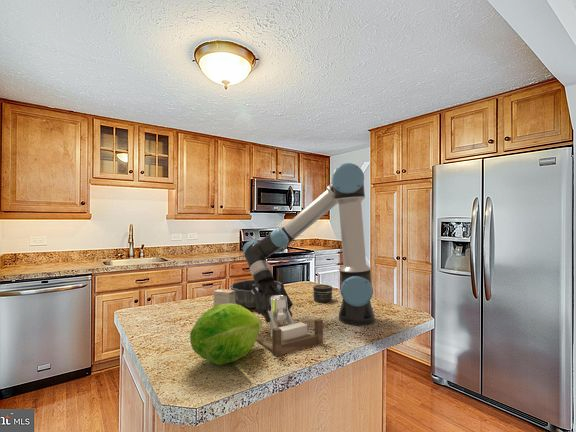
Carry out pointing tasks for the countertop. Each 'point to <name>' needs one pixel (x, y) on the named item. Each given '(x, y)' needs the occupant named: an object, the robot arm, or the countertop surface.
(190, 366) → the countertop surface
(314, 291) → the jar
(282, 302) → the beer glass
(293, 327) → the offcut upper
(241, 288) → the bundt pan
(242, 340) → the lettuce
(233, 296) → the supplement box
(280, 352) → the rack
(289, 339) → the offcut lower
